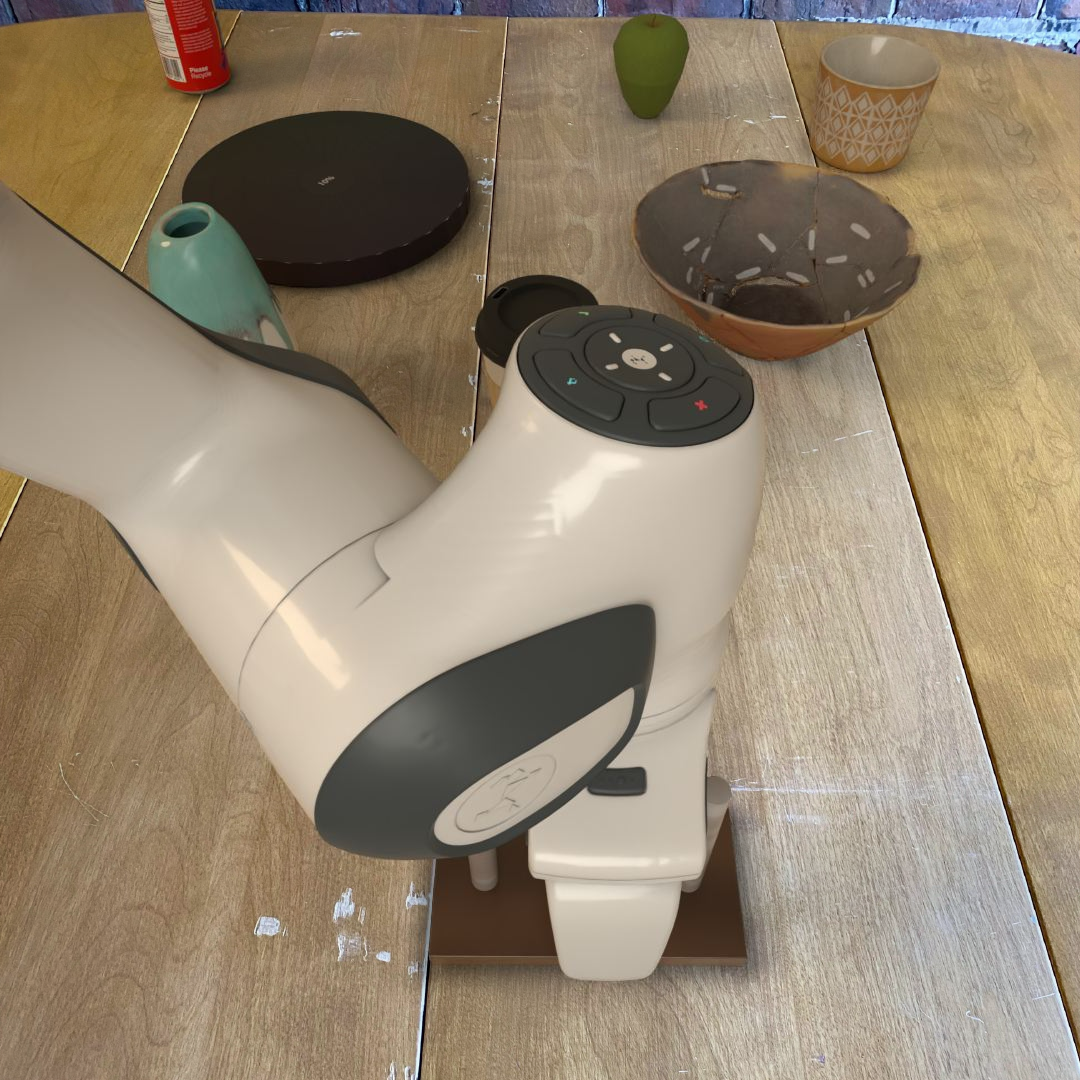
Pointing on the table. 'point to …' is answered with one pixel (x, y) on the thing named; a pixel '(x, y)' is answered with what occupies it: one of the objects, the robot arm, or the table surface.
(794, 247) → the bowl
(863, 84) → the planter
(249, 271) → the vase
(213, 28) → the soda can
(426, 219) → the disc
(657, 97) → the apple
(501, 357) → the coffee cup
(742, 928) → the cup rack
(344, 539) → the robot arm
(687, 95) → the table surface
